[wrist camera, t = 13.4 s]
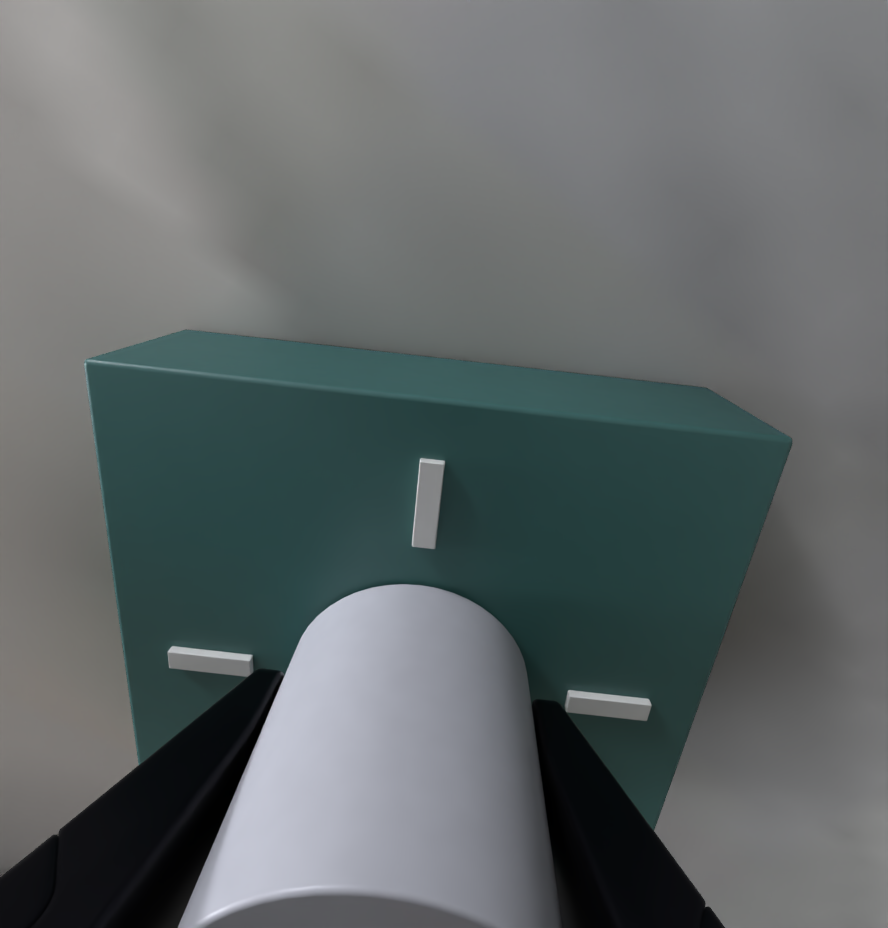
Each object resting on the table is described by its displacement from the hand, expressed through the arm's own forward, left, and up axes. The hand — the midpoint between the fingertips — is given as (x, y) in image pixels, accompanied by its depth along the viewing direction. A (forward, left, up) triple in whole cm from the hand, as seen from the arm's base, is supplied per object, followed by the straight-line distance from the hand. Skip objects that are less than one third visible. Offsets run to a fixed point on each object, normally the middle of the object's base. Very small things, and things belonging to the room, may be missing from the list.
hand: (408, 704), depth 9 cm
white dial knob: (0, 0, 0) cm, 0 cm away
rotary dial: (0, 0, -4) cm, 4 cm away
